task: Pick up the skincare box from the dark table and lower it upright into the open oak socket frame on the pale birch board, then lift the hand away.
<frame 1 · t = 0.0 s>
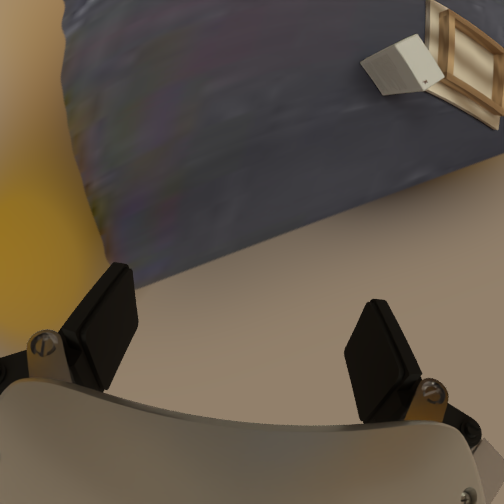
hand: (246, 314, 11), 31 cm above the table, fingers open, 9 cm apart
skincare box: (380, 72, 31), on the table
socket stand: (465, 64, 27), on the table
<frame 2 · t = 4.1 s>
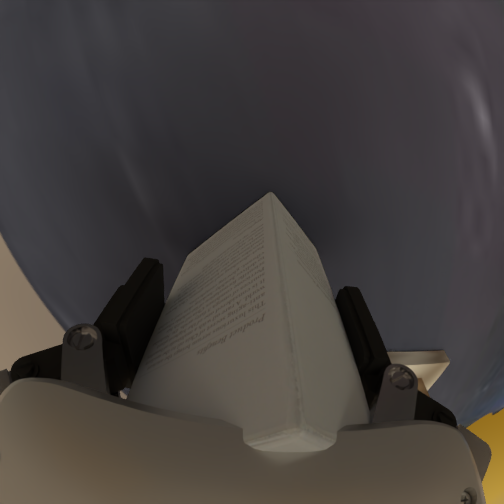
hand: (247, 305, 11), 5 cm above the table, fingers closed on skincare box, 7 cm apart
skincare box: (252, 249, 15), on the table, touching gripper
socket stand: (322, 412, 23), on the table
when the fingers open (7 cm above the table, at t = 11.3 s): skincare box stays where it is, resting on socket stand.
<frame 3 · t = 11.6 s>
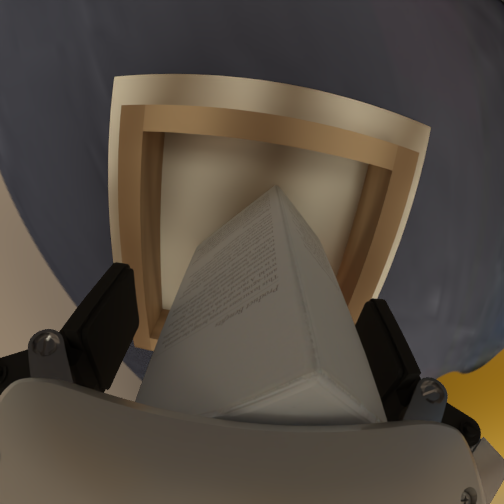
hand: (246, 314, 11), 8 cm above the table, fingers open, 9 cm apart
skincare box: (259, 240, 16), point 1 cm above the table, touching socket stand
socket stand: (253, 232, 17), on the table
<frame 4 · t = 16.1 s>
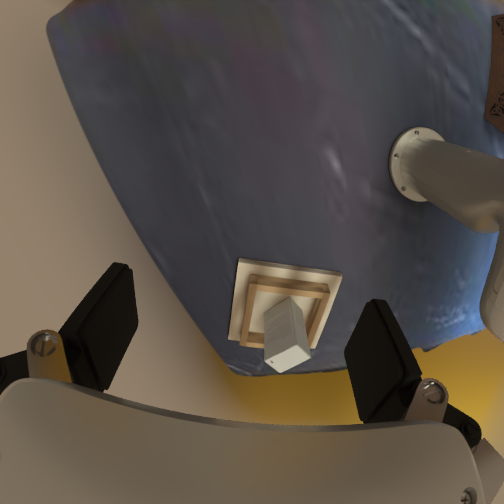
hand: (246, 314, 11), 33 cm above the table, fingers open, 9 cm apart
skincare box: (283, 310, 51), point 1 cm above the table, touching socket stand
socket stand: (281, 306, 52), on the table
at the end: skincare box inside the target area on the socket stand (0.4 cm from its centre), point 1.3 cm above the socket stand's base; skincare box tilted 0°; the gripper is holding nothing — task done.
